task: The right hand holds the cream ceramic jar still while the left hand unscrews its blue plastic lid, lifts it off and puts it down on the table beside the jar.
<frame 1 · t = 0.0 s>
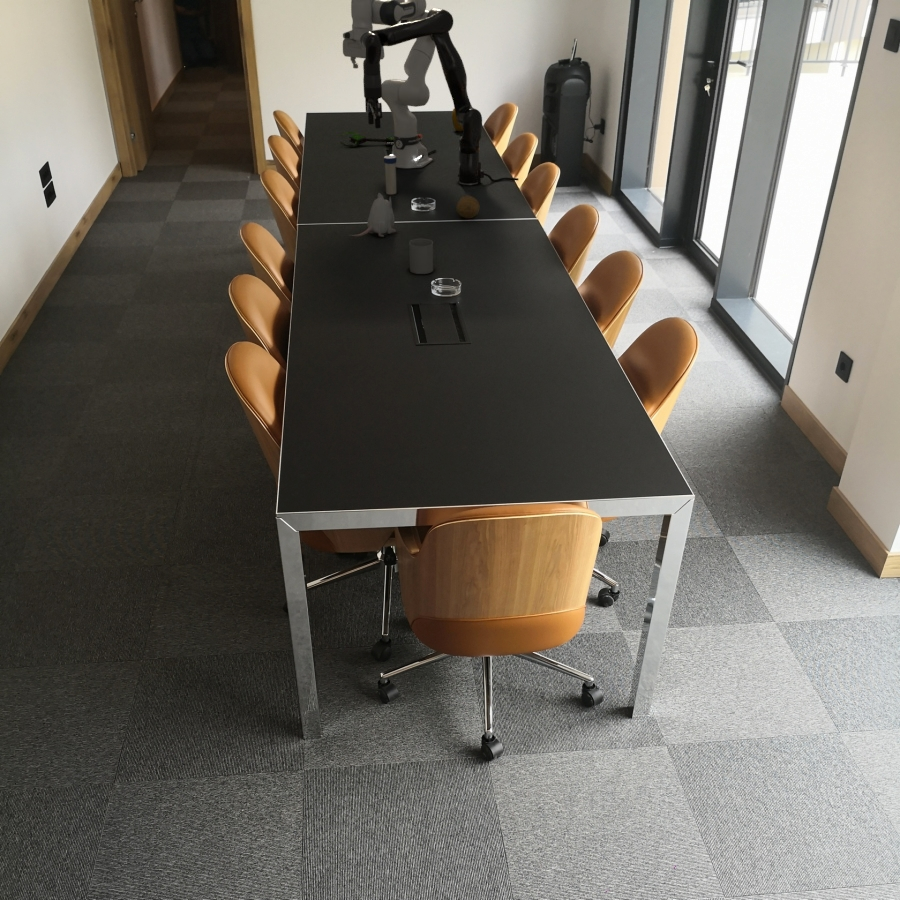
left hand: (364, 69, 380), 48 cm above the table, tool pointing down, fingers open, 8 cm apart
right hand: (374, 126, 370), 29 cm above the table, tool pointing down, fingers open, 8 cm apart
lid: (390, 157, 380), point 15 cm above the table, screwed on, not yet turned
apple: (461, 130, 491), on the table
potato: (467, 217, 359), on the table
jar: (391, 192, 388), on the table
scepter: (368, 145, 462), on the table
toy: (372, 237, 338), on the table
cup: (421, 270, 308), on the table
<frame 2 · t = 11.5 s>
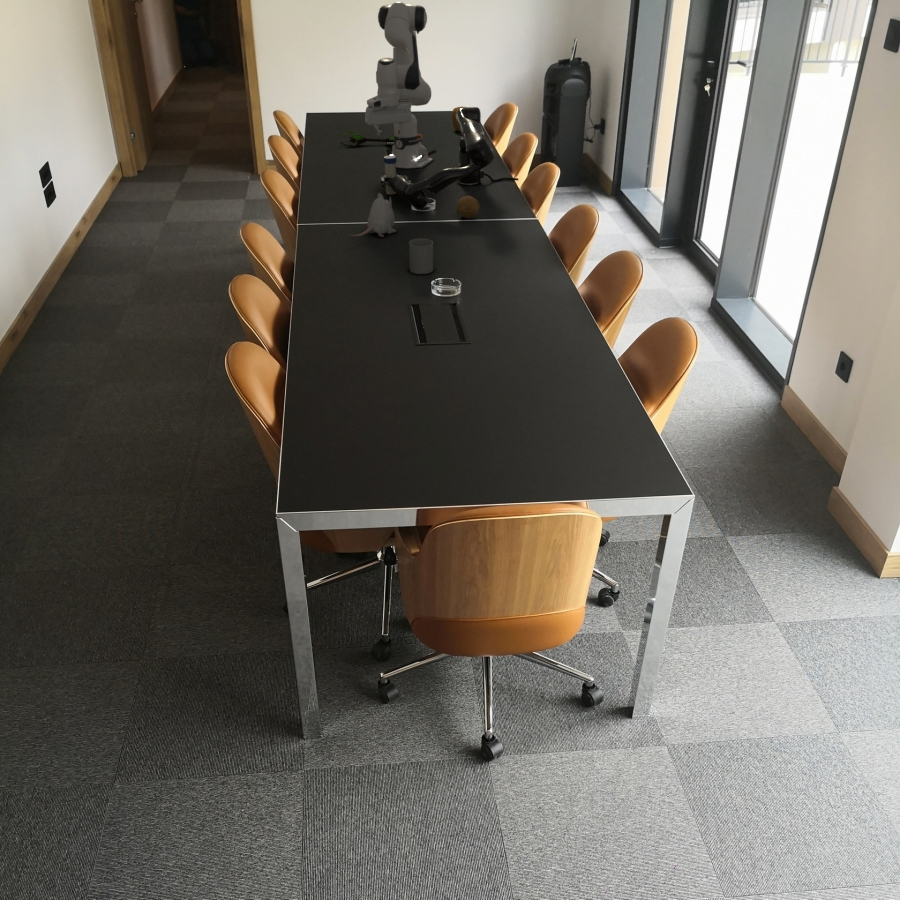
left hand: (389, 134, 375), 25 cm above the table, tool pointing down, fingers open, 8 cm apart
right hand: (388, 176, 387), 7 cm above the table, tool horizontal, fingers closed on jar, 4 cm apart
jar: (391, 192, 388), on the table, touching right hand
everything else where it was.
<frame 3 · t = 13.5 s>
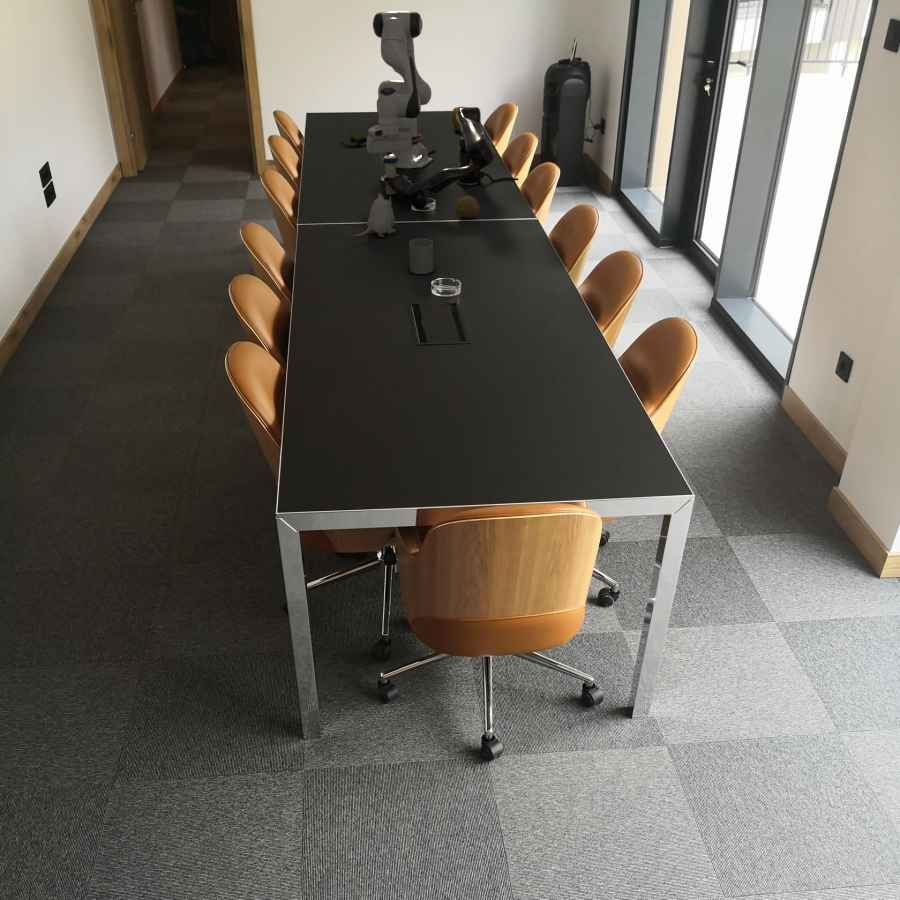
left hand: (390, 162, 381), 14 cm above the table, tool pointing down, fingers closed on lid, 5 cm apart
right hand: (388, 176, 387), 7 cm above the table, tool horizontal, fingers closed on jar, 4 cm apart
lid: (390, 157, 380), point 15 cm above the table, screwed on, not yet turned, touching left hand
jar: (391, 192, 388), on the table, touching right hand
everything else where it was.
when the left hand's fingers open (14 cm above the table, at t = 14.8 s): lid stays where it is, point 16 cm above the table.
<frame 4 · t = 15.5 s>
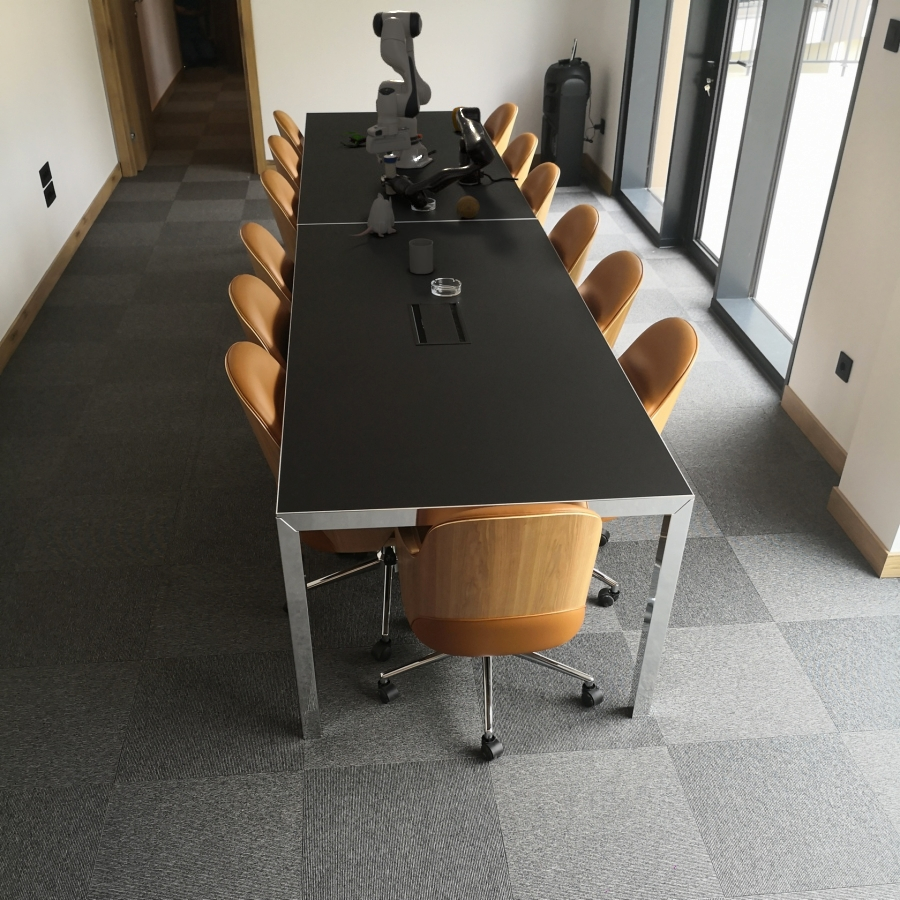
left hand: (389, 161, 381), 14 cm above the table, tool pointing down, fingers open, 8 cm apart
right hand: (388, 176, 387), 7 cm above the table, tool horizontal, fingers closed on jar, 4 cm apart
lid: (390, 157, 380), point 16 cm above the table, turned 64° so far, risen 0.2 cm, still on its thread
jar: (391, 192, 388), on the table, touching right hand
everything else where it was.
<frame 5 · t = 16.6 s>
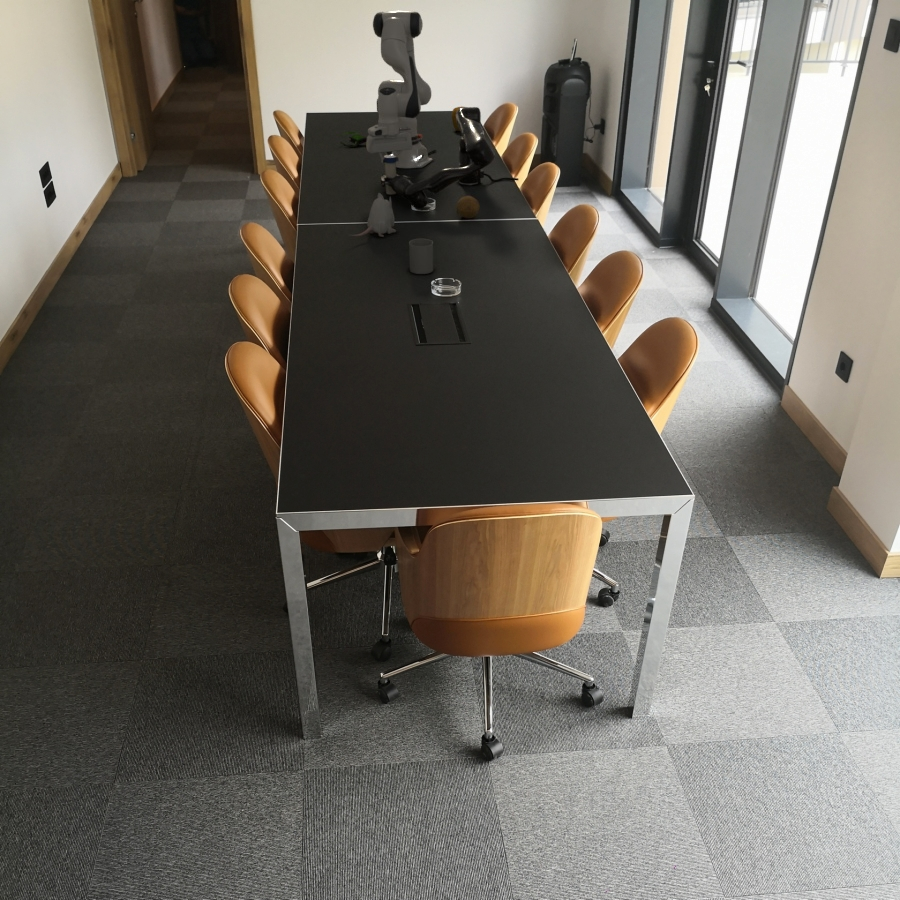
left hand: (390, 161, 381), 14 cm above the table, tool pointing down, fingers closed on lid, 5 cm apart
right hand: (388, 176, 387), 7 cm above the table, tool horizontal, fingers closed on jar, 4 cm apart
lid: (390, 157, 380), point 16 cm above the table, turned 64° so far, risen 0.2 cm, still on its thread, touching left hand
jar: (391, 192, 388), on the table, touching right hand
everything else where it was.
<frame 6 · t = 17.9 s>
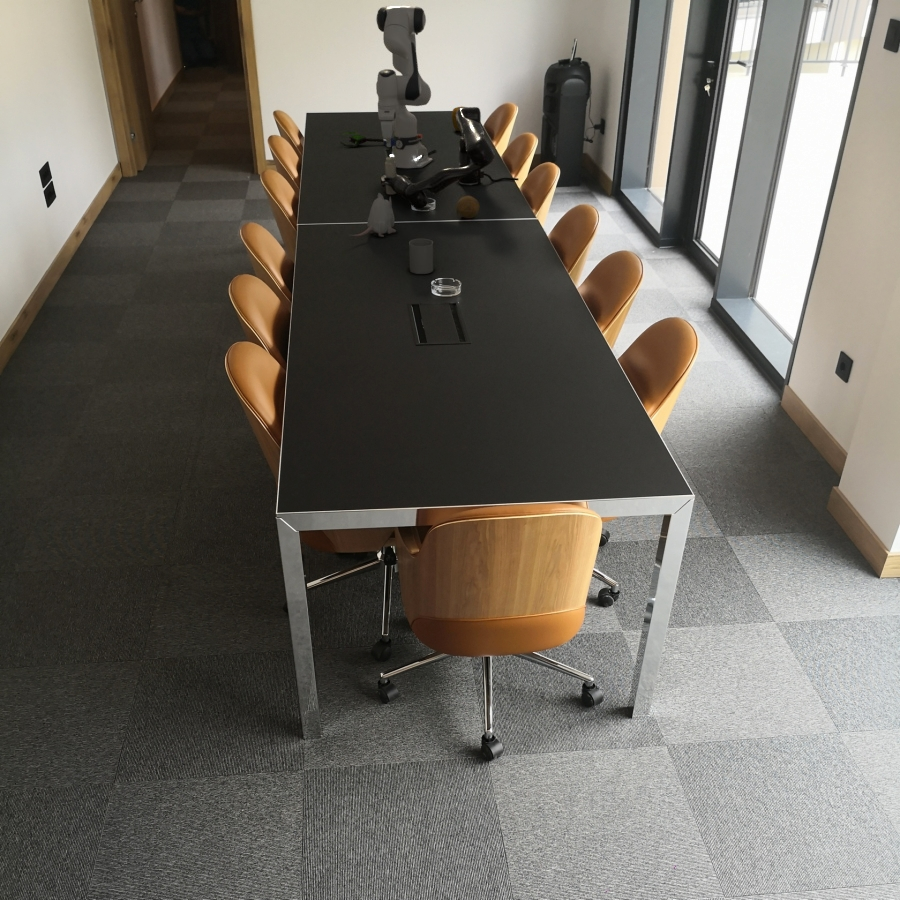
left hand: (389, 144, 377), 21 cm above the table, tool pointing down, fingers closed on lid, 5 cm apart
right hand: (388, 176, 387), 7 cm above the table, tool horizontal, fingers closed on jar, 4 cm apart
lid: (389, 140, 376), point 23 cm above the table, off its thread, touching left hand
jar: (391, 192, 388), on the table, touching right hand
everything else where it was.
when the left hand's fingers open (2 cm above the table, at t = 23.3 s): lid drops 2 cm, point 2 cm above the table.
when the right hand's fingers open (7 cm above the table, at t = 24.3 s): jar stays where it is, on the table.
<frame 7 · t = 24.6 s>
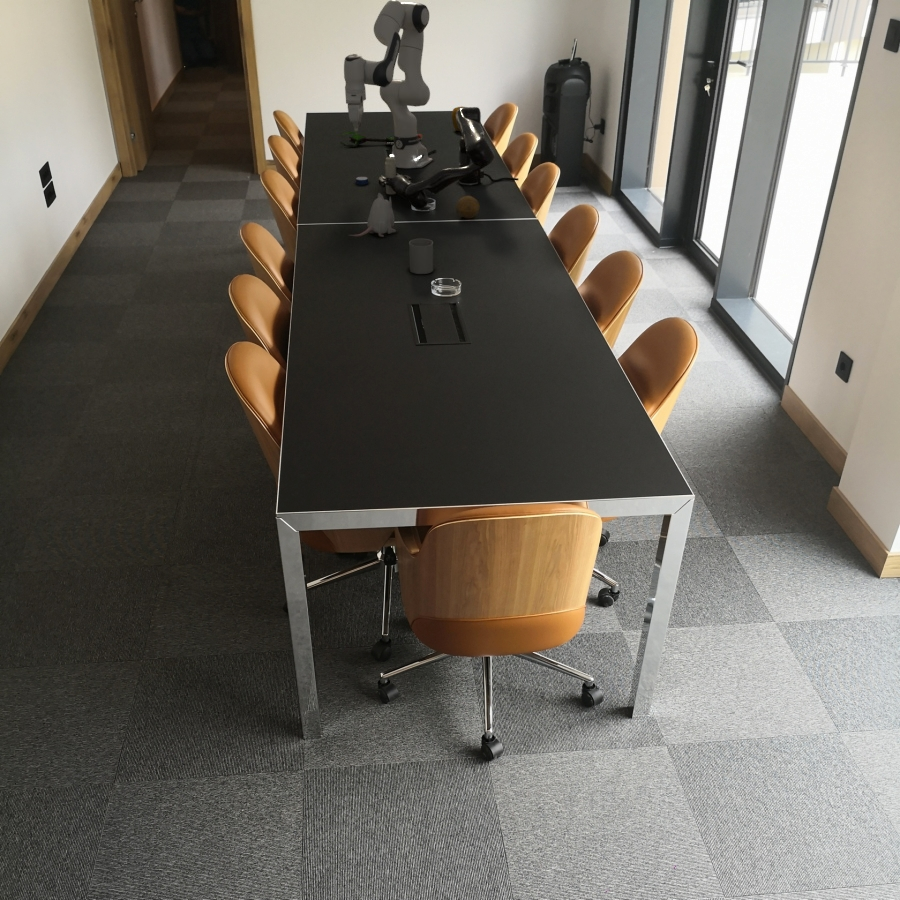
left hand: (357, 128, 386), 25 cm above the table, tool pointing down, fingers open, 8 cm apart
right hand: (389, 176, 386), 7 cm above the table, tool horizontal, fingers open, 7 cm apart
lid: (361, 179, 400), point 2 cm above the table, off its thread
jar: (391, 192, 388), on the table
everything else where it was.
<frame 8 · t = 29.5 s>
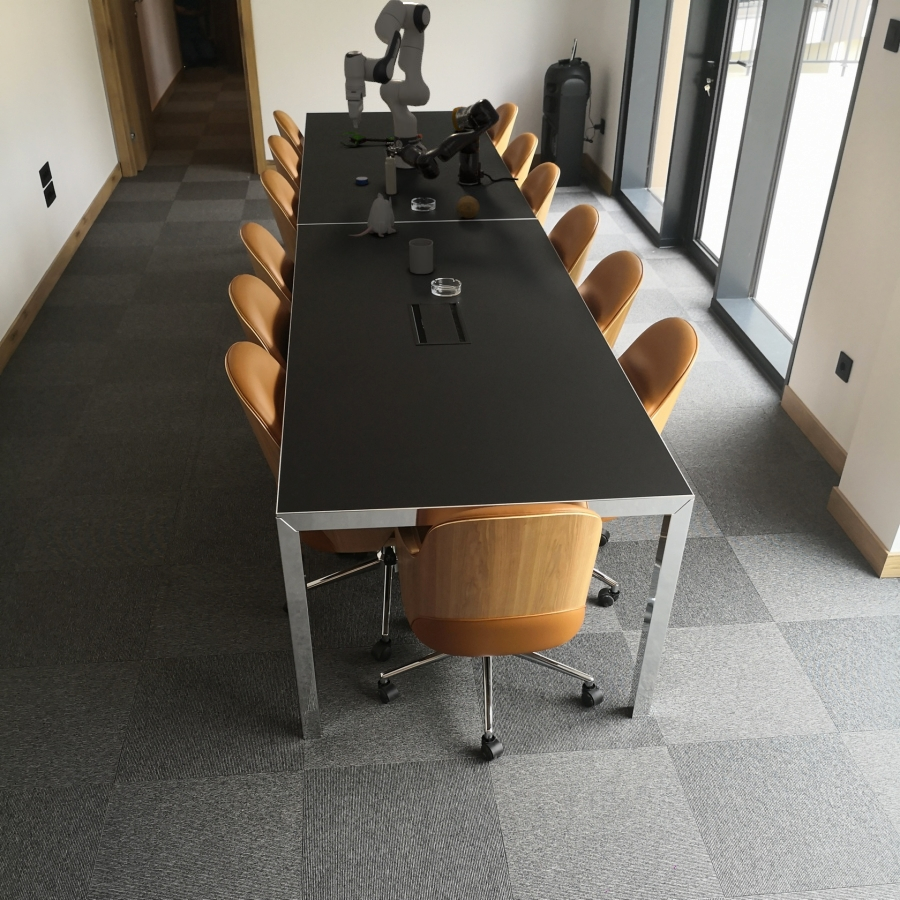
left hand: (357, 125, 385), 26 cm above the table, tool pointing down, fingers open, 8 cm apart
right hand: (398, 147, 367), 22 cm above the table, tool horizontal, fingers open, 8 cm apart
nothing on the table moved.
at the end: lid came off its thread; lid point 1.9 cm above the table; the left hand is holding nothing; the right hand is holding nothing; jar tilted 0°; jar moved 0.1 cm from its start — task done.
